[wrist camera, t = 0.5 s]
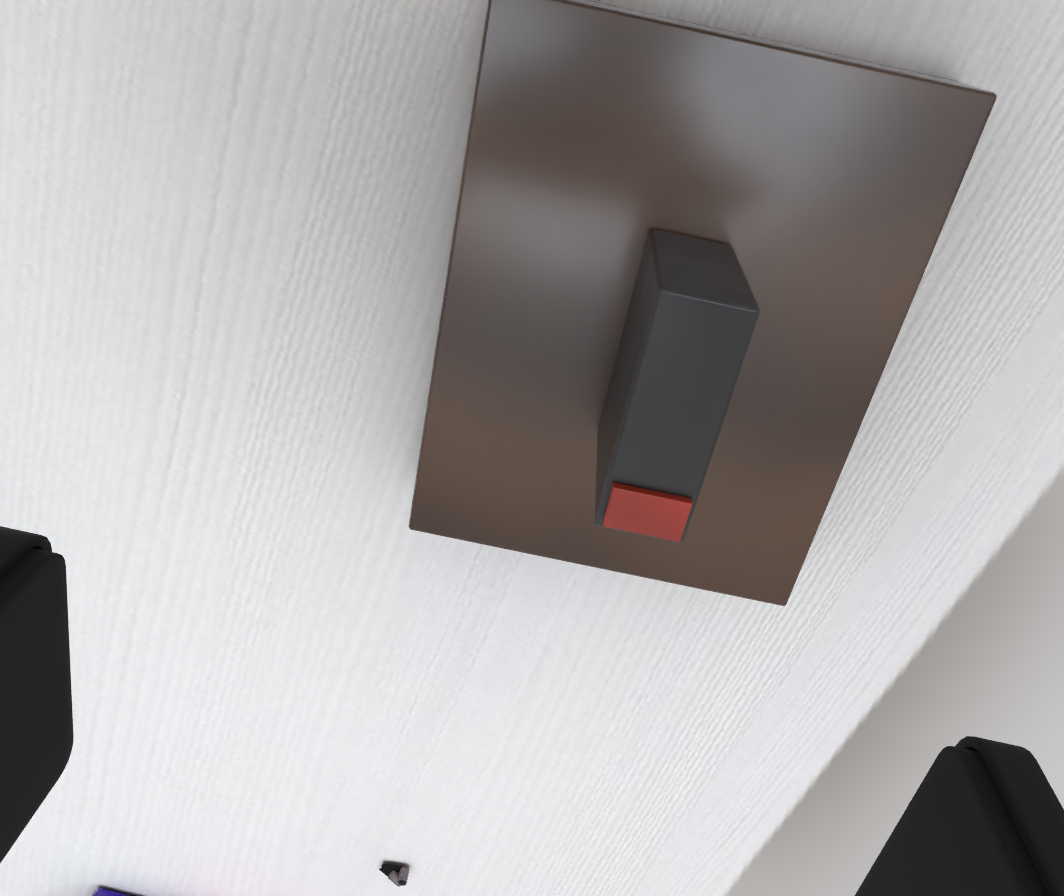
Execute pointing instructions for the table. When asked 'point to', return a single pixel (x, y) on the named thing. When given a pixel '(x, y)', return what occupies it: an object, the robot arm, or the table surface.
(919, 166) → the plate
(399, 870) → the barrel
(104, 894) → the supplement box
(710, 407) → the lock knob
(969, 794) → the robot arm
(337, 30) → the table surface
